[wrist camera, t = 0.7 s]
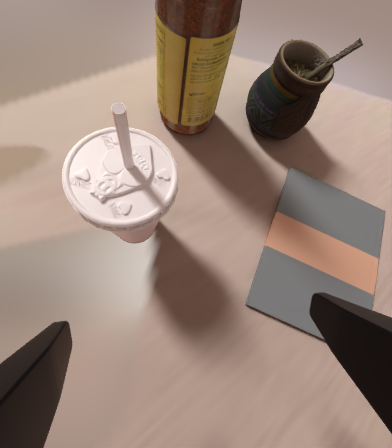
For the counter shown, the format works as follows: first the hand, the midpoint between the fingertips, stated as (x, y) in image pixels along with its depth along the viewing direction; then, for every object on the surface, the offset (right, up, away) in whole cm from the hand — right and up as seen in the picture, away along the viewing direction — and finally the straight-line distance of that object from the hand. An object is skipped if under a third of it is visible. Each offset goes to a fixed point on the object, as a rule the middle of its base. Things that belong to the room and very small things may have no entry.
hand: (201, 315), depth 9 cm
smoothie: (-6, +3, +14) cm, 15 cm away
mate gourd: (+9, +16, +20) cm, 27 cm away
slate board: (+13, 0, +16) cm, 21 cm away
